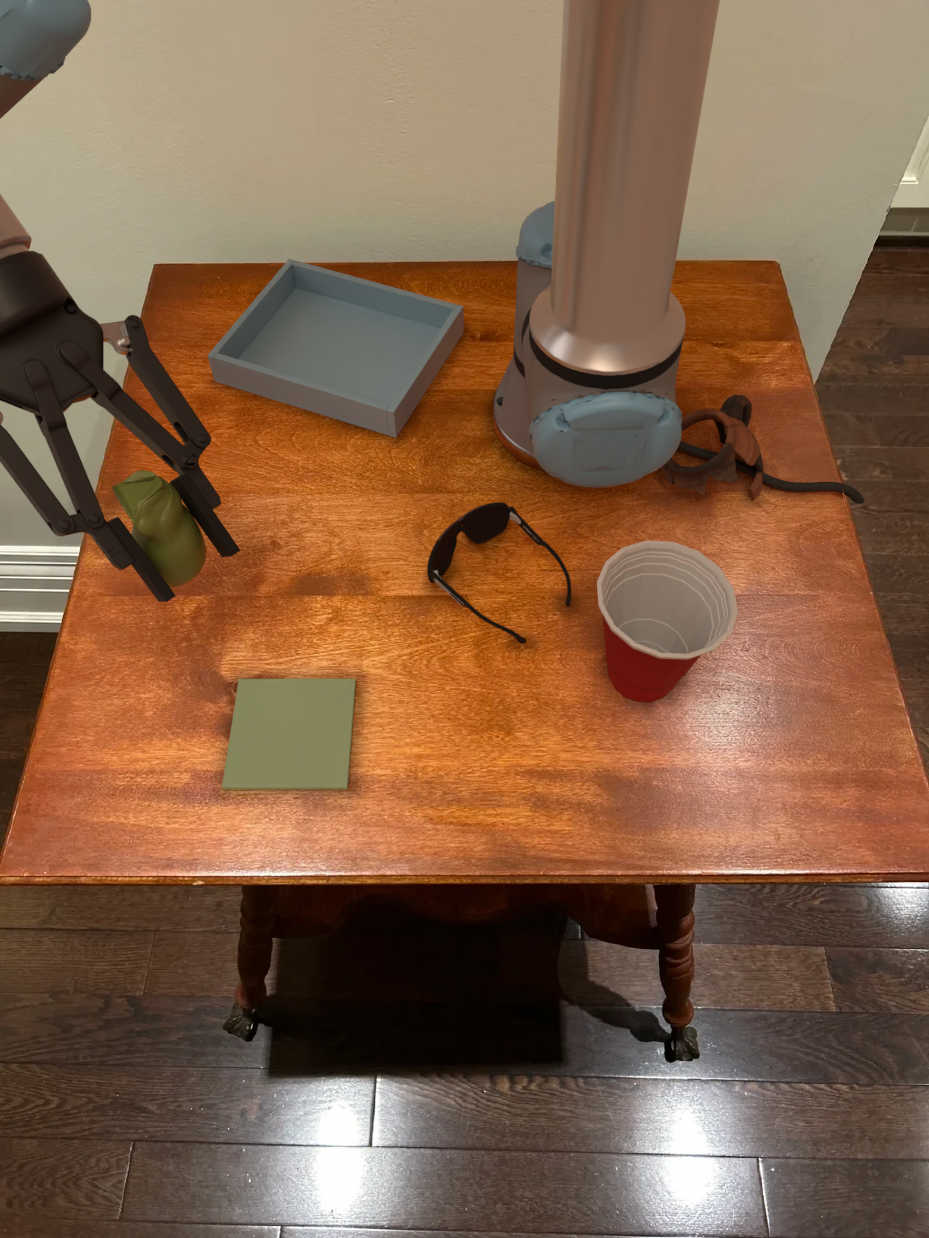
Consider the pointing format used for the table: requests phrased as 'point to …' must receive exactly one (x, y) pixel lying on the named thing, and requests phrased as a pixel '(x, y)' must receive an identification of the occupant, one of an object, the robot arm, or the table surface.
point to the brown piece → (735, 440)
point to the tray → (339, 346)
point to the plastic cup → (661, 615)
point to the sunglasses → (478, 529)
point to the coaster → (291, 735)
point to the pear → (163, 526)
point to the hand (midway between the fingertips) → (199, 575)
